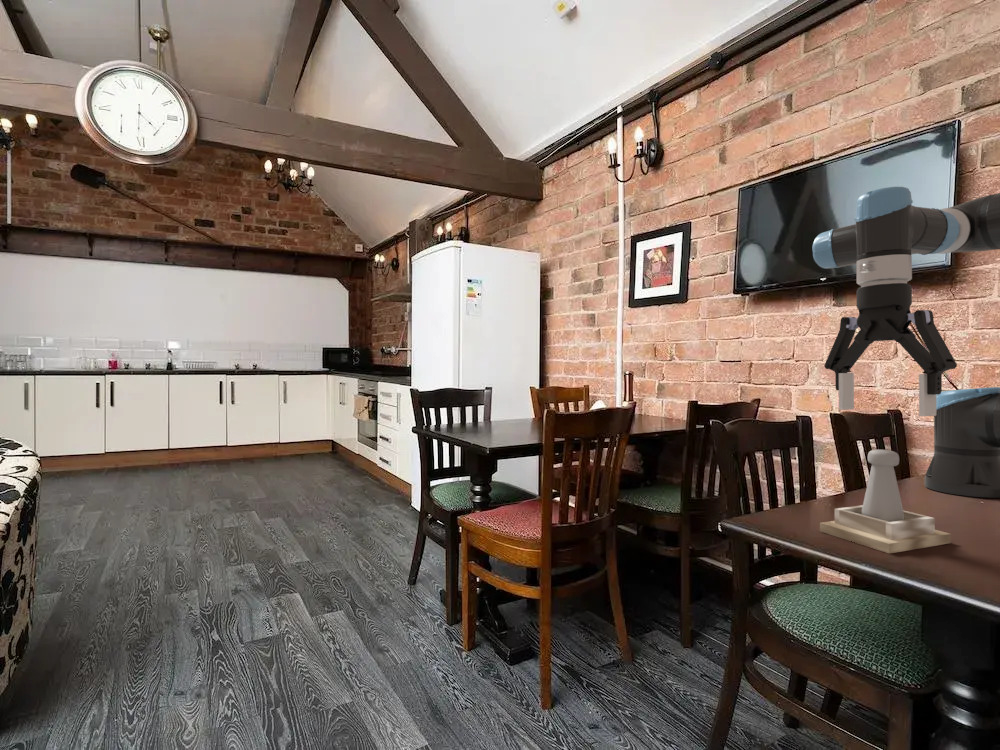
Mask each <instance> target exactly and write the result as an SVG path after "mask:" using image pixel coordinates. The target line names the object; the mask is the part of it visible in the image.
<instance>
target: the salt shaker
mask: <svg viewBox="0 0 1000 750" xmlns="http://www.w3.org/2000/svg"><path fill="white" fill-rule="evenodd" d="M867 462H868V463H869V464H871V467H870V472H869V477H868V480H867V485H866V489H865V490H866V491H865V493H864V497H863V498H864V499H863V503H862V505H863V507H862V515H865V516H869V517H873V518H877V519H880V520H884V521H888V522H894V521H901V520H903V519H904V512H903V510H904V509H903V504H902V503H903V502H902V499H901V498H902V497H901V494H900V490H899V489H900V488H899V485H898V480H897V476H896V471H895V468H894V467H897V466H898V465H899V464H900V456H899V454H898V453H897V452H896V451H893V450H890V449H889V450H888V449H872V450H871V449H870V451H868V454H867Z"/></svg>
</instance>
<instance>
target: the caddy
mask: <svg viewBox="0 0 1000 750" xmlns="http://www.w3.org/2000/svg"><path fill="white" fill-rule="evenodd" d="M862 507H863V504H860V505H854V506H846V507H838V508H834V520H830V521H824V522H819V532H821V533H824V534H827V535H830V536H832V537H836V538H839V539H843V540H846V541H848V542H851V541H852V543H854V542H855V544H858V545H861V546H865V547H867V548H871V549H872V550H873V549H874V550H877V551H879V552H884V554H885V553H887V554H894V553H901V552H906V551H912V550H913V551H914V550H918V549H924V548H931V547H936V546H941V545H943V546H944V545H948V544H951V543H952V534H951V533H949V532H946V531H945V532H944V531H942V530H938V529H935V528H936V527H935V524H936V521H935V519H936V518H935V517H933V516H932V517H931V516H930V515H929V516H927V515H925V514H920V513H916V512H912V511H907V510H904V509H903V512H904V519H903V520H901V521H894V522H888V521H884V520H880V519H877V518H873V517H869V516H865V515H862Z"/></svg>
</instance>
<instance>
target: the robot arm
mask: <svg viewBox="0 0 1000 750" xmlns="http://www.w3.org/2000/svg"><path fill="white" fill-rule="evenodd" d="M913 203H914V201H913V199H912V192H911V191H910V189H909V188H908V187H905V186H887V187H882V188H878V189H874V190H873V189H872V190H871V191H867V192H864V193H862V194H861V195H860V196H859V197H858V199H857V200H856V206H855V207H856V209H855V218H854V222H855V223H854V224H850V225H846V226H843V227H839V228H838V227H837V228H831V230H827V231H824V232H820V233H819V234H818V235H817V236H816V237H815V238H814V241H813V243H812V249H811V250H812V257H813V261H814V262H815V264H817V266H818V267H820V268H822V269H825V270H826V269H835V268H836V269H839V268H842V267H843V268H844V267H848V266H853V265H856V284H857V285H858V286H860V287H858V288H857V290H856V309H857V310H858V317H855V316H842V317H841V318H840V321H839V322H840V323H839V331H838V333H837V335H836V338H835V340H834V342H833V343H832V344H833V345H832V346H831V350H830V352H829V354H828V356H827V358H826V360H825V363H824V368H825V370H831V371H833V372H834V375H835V377H834V379H835V390H836V391H838V410H839V411H840V410H841V411H842V410H843V411H846V410H854V409H855V373H854V372H852V369H851V368H853V366H854V365H855V364H856V363H857V361H858V360H859V359H860V358H861V356H862V355H863V354H864V352H865V351H866V350H867V349H868V347H869V346H870V345H872V344H873V343H874V342H885V341H887V342H888V341H894V342H896V343H899V345H900V346H901V347H902V348H903V349H904V350H905V352H907V354H909V355H908V356H910V357H911V358H912V359H913V360H914V361H915V363H917V364H918V366H919V367H920V368H921V369H922V370H923V371H922V372H921V373H918V404H919V405H918V406H919V407H918V408H919V409H918V410H919V411H918V412H919V413H918V416H919V417H932V416H933V438H934V439H933V445H934V447H933V448H934V449H933V456H932V458H931V461H930V463H929V465H928V467H927V470H926V473H925V475H924V487H925V488H927V489H928V490H929V489H930V490H933V491H936V492H941V493H946V494H951V495H957V496H965V497H973V498H974V497H975V498H989V499H990V498H991V499H993V498H994V499H998V498H1000V386H995V387H992V386H991V387H979V388H966V389H965V388H964V389H963V388H962V389H952V390H951V389H950V390H944V391H943V390H942V389H943V388H942V386H943V385H942V382H943V381H942V380H943V379H942V377H943V376H942V375H943V373H944V372H946V371H947V372H948V371H949V370H955V369H956V368H957V366H958V365H957V361H956V360H955V358H954V356H953V354H952V353H951V351H950V349H949V347H948V346H947V344H946V342H945V340H944V338H943V337H942V335H941V334H940V331H939V330H938V328H937V327H936V325H935V320H934V319H935V318H934V312H933V311H932V310H929V309H928V310H927V309H917V310H915V311H914V312H911V305H912V303H913V301H912V300H913V289H912V288H913V286H912V285H911V284H910V283H908V282H909V281H911V280H913V268H912V267H913V266H912V265H913V263H912V258H913V257H912V255H916V254H919V255H922V256H926V255H935V254H938V255H941V254H943V255H945V254H950V253H968V252H969V253H970V252H987V251H995V250H1000V192H997V193H993V194H989V195H984V196H980V197H977V198H975V199H972V200H969V201H965V202H962V203H960V204H956V205H953V206H950V207H946V208H941V209H939V208H936V207H934V208H933V207H932V208H929V207H921V206H915V205H912V204H913ZM911 324H913V325H915V328H916V330H917V332H918V334H919V336H920V338H921V340H922V341H923V343H924V345H925V346H924V345H923V344H922V343H921V342H920V341H919V340H918V338H916V337H917V335H916V334H915V333H914V332H913V331H912V330H911V329H910V328H909V327H910V325H911ZM858 328H859V330H858V332H857V333H856V330H857V329H858ZM855 333H856V335H855ZM852 341H853V342H852Z"/></svg>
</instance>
